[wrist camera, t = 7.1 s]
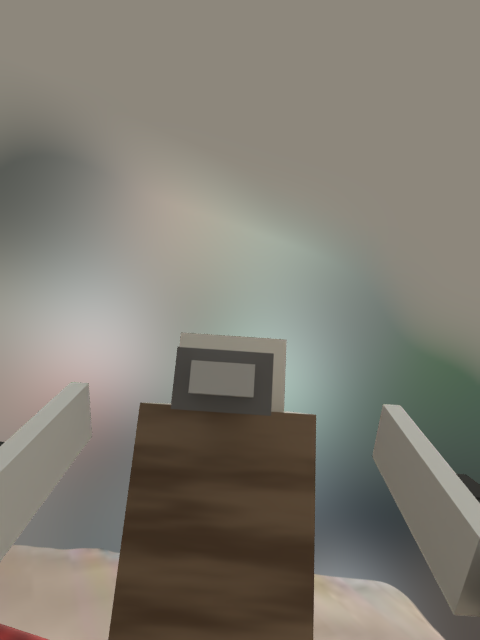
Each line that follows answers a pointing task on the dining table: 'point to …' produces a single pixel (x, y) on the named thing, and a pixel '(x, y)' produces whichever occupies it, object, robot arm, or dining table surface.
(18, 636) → the hardcover book
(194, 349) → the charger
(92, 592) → the dining table surface
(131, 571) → the stand
